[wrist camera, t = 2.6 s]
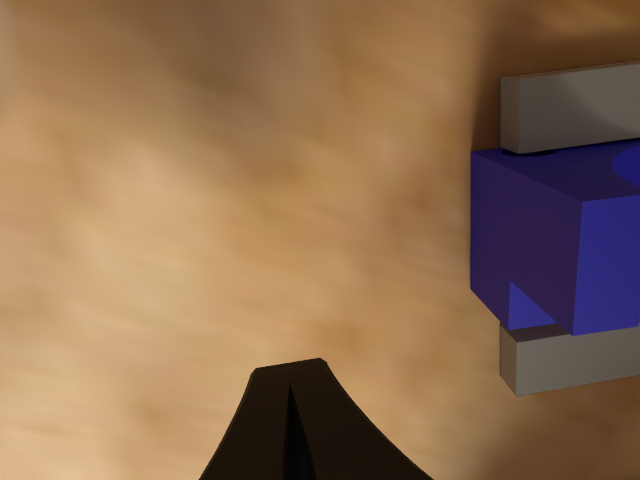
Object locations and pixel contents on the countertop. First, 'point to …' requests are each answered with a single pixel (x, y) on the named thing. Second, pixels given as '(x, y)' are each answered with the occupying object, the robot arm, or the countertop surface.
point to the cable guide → (552, 133)
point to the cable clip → (558, 236)
